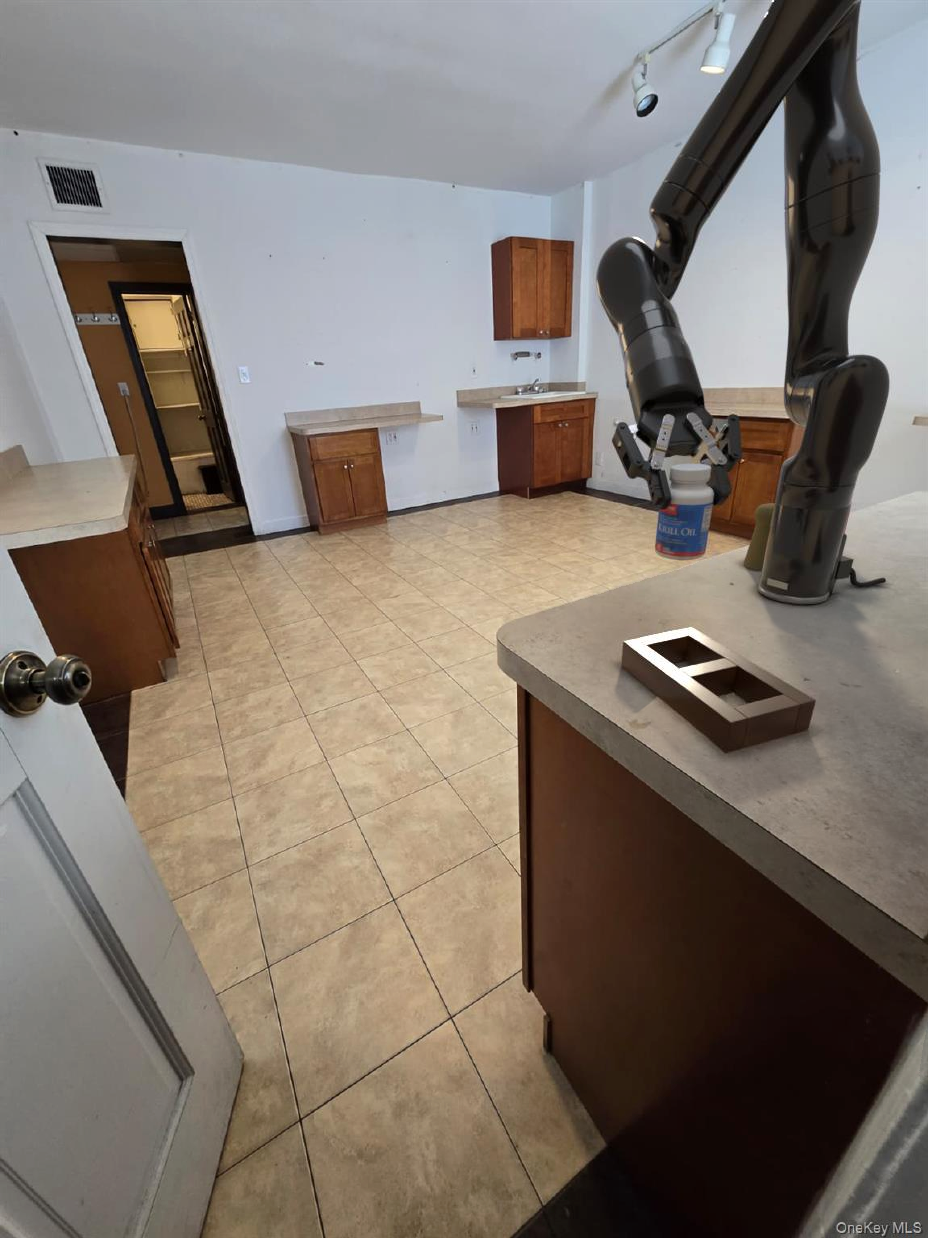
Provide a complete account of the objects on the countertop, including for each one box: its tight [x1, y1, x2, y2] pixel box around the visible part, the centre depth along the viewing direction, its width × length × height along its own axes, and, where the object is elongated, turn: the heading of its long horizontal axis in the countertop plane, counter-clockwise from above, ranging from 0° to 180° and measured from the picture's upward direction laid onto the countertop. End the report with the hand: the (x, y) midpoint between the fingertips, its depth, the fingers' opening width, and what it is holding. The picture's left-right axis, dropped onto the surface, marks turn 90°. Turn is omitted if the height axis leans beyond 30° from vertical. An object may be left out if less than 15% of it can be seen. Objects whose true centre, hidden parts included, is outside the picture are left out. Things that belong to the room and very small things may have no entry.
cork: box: [742, 502, 775, 572], centre depth 90 cm, size 6×6×11 cm
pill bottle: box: [654, 463, 714, 561], centre depth 57 cm, size 6×5×10 cm
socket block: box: [621, 626, 817, 754], centre depth 56 cm, size 10×18×4 cm, turn 17°
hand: (693, 502), depth 54 cm, fingers closed on pill bottle, 5 cm apart
